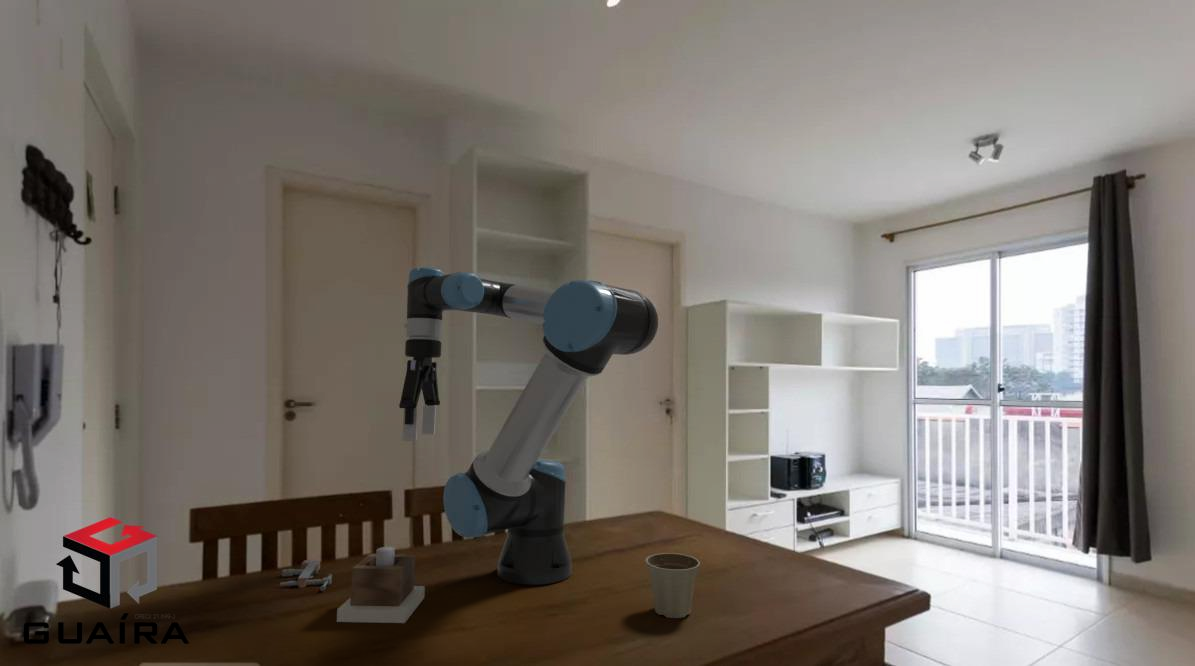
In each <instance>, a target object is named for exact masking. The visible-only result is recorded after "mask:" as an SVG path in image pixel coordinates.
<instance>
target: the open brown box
mask: <svg viewBox="0 0 1195 666" xmlns="http://www.w3.org/2000/svg"><path fill="white" fill-rule="evenodd" d="M415 562H416V554H408V553H406V554H401V553H398V554H397V553H396V554H395V557H394V566H376V553H370V554H368V555H367V556H365V558H363V559H362V560H361V561H359V562H357V564H356V565H354V566H353V567H352V568H351V583H350V584H351V586H350V597H351V601H350V606H400V605H401V603H402V602H403V601H404V600H405V599H406V597H407V596H408V595H409V594H410V593H411V592H412V590H413V589H414V586H415V570H416V569H415V568H416V567H415V565H416V563H415Z"/></svg>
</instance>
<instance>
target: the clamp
mask: <svg viewBox="0 0 1195 666" xmlns="http://www.w3.org/2000/svg"><path fill="white" fill-rule="evenodd" d="M320 569H321V561H320V559H313V560H312V559H308V560H305V559H304V560H303V561H302V562H301V569H295V568H287V569H285V568H284V569H283V570H282V571H281V572H282V574H281V577H282V578H283V577H293V576H298V575H299V576H298V577H297V580H290V581H285V582H283V581H281V582H280V583H279V586H288V587H289V586H290V587H291V586H298V588H301V589H302V588H306V587H307V586H308V585H320V584H322V585H321V586H320V587H319V591H321V592H324V591H325V590H327V589H326V588H327V587H326V586H327V585H328V586H330V585H331V584H332V581H333V580H332V578H333V574H332V573H329V574H327V575H326V577H323V578H322V579H319V578H318V579H312V578H314V577H315V575H317V574H318V572H319V571H320Z"/></svg>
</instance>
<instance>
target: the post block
mask: <svg viewBox="0 0 1195 666" xmlns="http://www.w3.org/2000/svg"><path fill="white" fill-rule="evenodd" d="M395 551H396V548H395V547H394V546H382V547H378V548H377V549H376V553H375V554H376V566H394V557H395V553H396V552H395ZM425 588H426V586H425V585H414V589H413V590H412V592H411V593H410V594H409V595H408V596H407V597H406V599H405V600H404V601H403V602H402V603H401V605H400V606H350V601H351V596H350V597H348V599H347V600H345V602H344V603H342V604H341V605H340V606H339V607H338V608H337V610H336V622H337V623H373V624H375V623H382V624H391V623H392V624H405V623H406V622H407V621H408V619H409V618H410V617H411V616H412V615H413V613H414V612H415V610H416V609H417V608H418V607H419V605H420V604H421V603H422V601H423V600H425V590H426V589H425Z"/></svg>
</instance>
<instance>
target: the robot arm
mask: <svg viewBox="0 0 1195 666" xmlns="http://www.w3.org/2000/svg"><path fill="white" fill-rule="evenodd" d="M406 287H407V288H406V289H407V297H406V298H407V302H406V323H404V325H403V327H404V328H405V329H406V331H405V337H407V338H408V339H406V340H405V345H404V349H405V350H404V355H405V356H406V357H409V358H413V359H412V360H410V359H408V360H407V362H406V364H407V365H406V366H407V367H406V373H405V378H404V382H403V388H402V392H401V397H400V402H399V405H398V407H399V409H403V420H402V441H403V442H407V441H408V442H409V441H410V442H416V441H418V424H419V423H418V421H419V408H417V407H418V403H419V400H420V396H421V392H422V396H423V401H424V405H423V406H422V425H421V427H422V429H421V434H422V435H433V436H434V435H436V414H437V413H436V411H437V406H440V404H441V400H440V397H439V387H438V375H437V373H438V372H437V362H436V361H433V359H435V358H440V357H441V356H442V341H441V340H440V339H441V338H442V337H443V312H444V311H461V312H468V313H477V314H485V315H491V316H492V315H493V316H498V317H502V318H508V319H514V320H518V321H519V320H520V321H523V322H529V323H533V324H536V325H541V326H542V331H543V337H542V341H541V342H542V344H543V347H544V353H543V355H542V357H541V359H540V360H539V361H538V362H539V363H538V364H537V366H536V367H535V369H534V371H533V372H532V374H531V376H530V378H529V379H528V382H527V383H526V385H525V387H524V388H523V390H522V392H521V394H520V396H519V397H518V398H517V401H516V402H515V404H514V405H513V408H512V409H511V410H510V411H511V412H510V413H509V414H508V416H507V418H506V420H505V421H504V423H503V425H502V427H501V429H500V430H499V432H498V434H497V436H495V439H494V441H493V443H492V444H491V446H490V448H489V449H488V450H484V451H481V452H479V453H478V454H477V455H475V457H474V459H473V461H472V463H471V464H470V466H469V468H468V469H467V471H466V472H457V473H456V474H454V475H452V476H450V478H449V479H448V480H447V482H446V484H445V487H444V489H443V497H442V498H443V506H444V507H443V508H444V513H445V516H446V519H447V521H448V523H449V525H450V526H451V528H452V529H453V531H454V532H455V533H456V534H458V535H459V536H461V537H462V538H467V539H471V538H475V537H478V538H482V537H484V536H487V535H490V534H495V533H498V532H502V531H505V530H507V532H506V533H507V534H506V538H505V541H504V544H503V547H502V550H501V553H500V556H499V558H498V562H497V576H498V578H500V579H501V580H503V581H505V582H507V583H512V584H516V585H527V586H539V585H548V584H549V585H550V584H554V583H558V582H562V581H564V580H566V579H568V578H569V577H570V576H571V575H572V567H573V566H572V558H571V555H570V551H569V547H568V544H567V541H566V540H567V539H566V538H565V504H566V502H565V501H566V483H567V481H566V480H567V479H566V470H565V466H564V465H563V464H562V463H561V462H558V461H555V460H547V459H540V457H541V456H542V453H543V451H544V450H545V449H546V447H547V445H548V444H549V442H550V440H551V438H552V437H553V435H554V433H555V432H556V431H557V429H558V427H559V426H560V424H561V423H562V420H563V419H564V418H565V416H566V414H567V412H568V411H569V409H570V407H571V406H572V405H573V403H574V402H575V400H576V398H577V396H578V394H579V393H580V391H581V390H582V388H583V386H584V385H585V383H586V381H587V380H588V379H589V378H590V377H595V376H599V375H601V373H603V371H604V369H605V368H606V366H607V365H608V363H609V361H610V359H611V358H612V356H614V355H623V356H625V355H626V356H627V355H632V354H633V355H634V354H636V353H638V352H641V351H642V350H644V349H646V348H647V347H648V346H649V345H651V344H652V342H653V340H654V339H655V337H656V335H657V333H658V329H659V317H658V312H657V310H656V307H655V306H654V304H653V302H652V301H651V300H650V299H649V298H648V297H646V296H645V295H644V294H642V293H641V292H638V291H636V290H632V289H628V288H624V287H623V288H622V287H618V286H613V285H609V284H605V283H603V282H601V281H597V280H580V279H577V280H572V281H569V282H566V283H564V284H562V285H560V286H559V287H558V288H557V289H555V290H553V289H545V288H541V287H540V288H539V287H533V286H526V285H519V284H514V283H508V282H502V281H501V282H500V281H496V280H495V281H494V280H489V279H484V278H480V277H478V276H477V275H476V274H475V273H472V272H469V271H467V272H461V271H458V272H453V273H449V274H445V273H444V271H443V270H441V269H439V268H434V267H425V266H424V267H415V268H412V269H411V270H409V275H408V282H407V286H406Z"/></svg>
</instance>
